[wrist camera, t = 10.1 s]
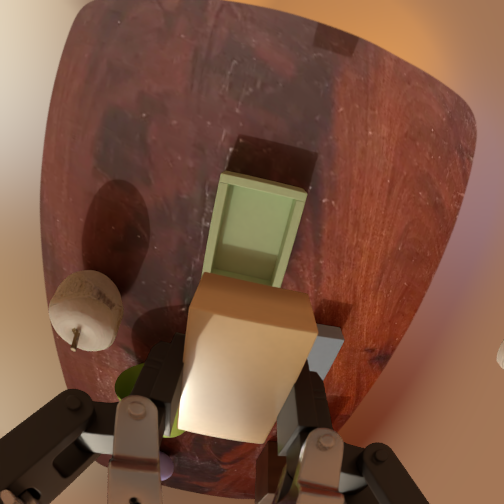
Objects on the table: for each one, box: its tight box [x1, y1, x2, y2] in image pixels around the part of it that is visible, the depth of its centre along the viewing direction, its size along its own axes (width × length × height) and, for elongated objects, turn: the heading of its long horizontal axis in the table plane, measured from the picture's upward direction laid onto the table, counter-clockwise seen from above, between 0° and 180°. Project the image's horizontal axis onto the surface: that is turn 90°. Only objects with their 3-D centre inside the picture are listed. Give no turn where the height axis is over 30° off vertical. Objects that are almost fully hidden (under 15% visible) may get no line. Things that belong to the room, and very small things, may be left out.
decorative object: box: [49, 270, 124, 352], centre depth 27 cm, size 9×9×10 cm
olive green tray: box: [201, 171, 307, 288], centre depth 27 cm, size 11×8×3 cm
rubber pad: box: [307, 324, 344, 380], centre depth 32 cm, size 7×4×2 cm, turn 167°
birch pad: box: [177, 272, 318, 444], centre depth 11 cm, size 7×4×2 cm, turn 167°
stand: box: [255, 441, 287, 504], centre depth 38 cm, size 9×7×11 cm
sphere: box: [159, 451, 174, 480], centre depth 42 cm, size 7×7×7 cm
